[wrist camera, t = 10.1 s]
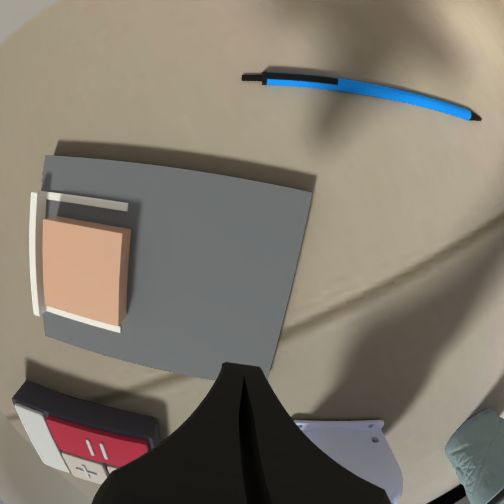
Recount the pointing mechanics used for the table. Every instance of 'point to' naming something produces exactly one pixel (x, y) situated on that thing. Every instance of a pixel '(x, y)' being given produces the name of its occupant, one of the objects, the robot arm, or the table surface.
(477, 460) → the green cup
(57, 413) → the calculator
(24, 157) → the table surface
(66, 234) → the tile
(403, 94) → the pen
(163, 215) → the mat
